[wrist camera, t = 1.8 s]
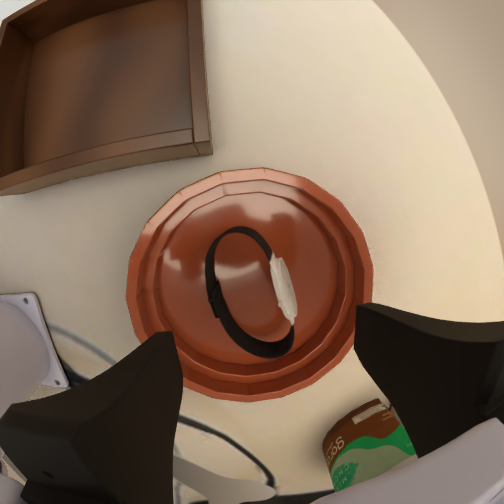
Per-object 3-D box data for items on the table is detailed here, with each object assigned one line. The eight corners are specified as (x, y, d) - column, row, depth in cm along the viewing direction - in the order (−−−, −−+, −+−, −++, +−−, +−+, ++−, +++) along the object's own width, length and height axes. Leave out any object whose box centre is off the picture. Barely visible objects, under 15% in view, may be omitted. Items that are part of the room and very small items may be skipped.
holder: (22, 194, 14) (-20, 198, 10) (32, 41, 12) (2, 20, 7) (213, 154, 15) (210, 141, 11) (202, -10, 13) (199, -50, 8)
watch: (305, 326, 18) (323, 356, 14) (236, 352, 18) (240, 387, 14) (266, 211, 16) (280, 217, 12) (187, 241, 16) (178, 255, 12)
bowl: (166, 381, 18) (160, 409, 15) (125, 188, 15) (106, 188, 12) (347, 355, 19) (364, 378, 16) (346, 166, 16) (370, 163, 13)
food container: (313, 404, 20) (357, 503, 10) (381, 386, 21) (442, 465, 11) (307, 478, 23) (331, 550, 13) (360, 463, 23) (393, 528, 14)
